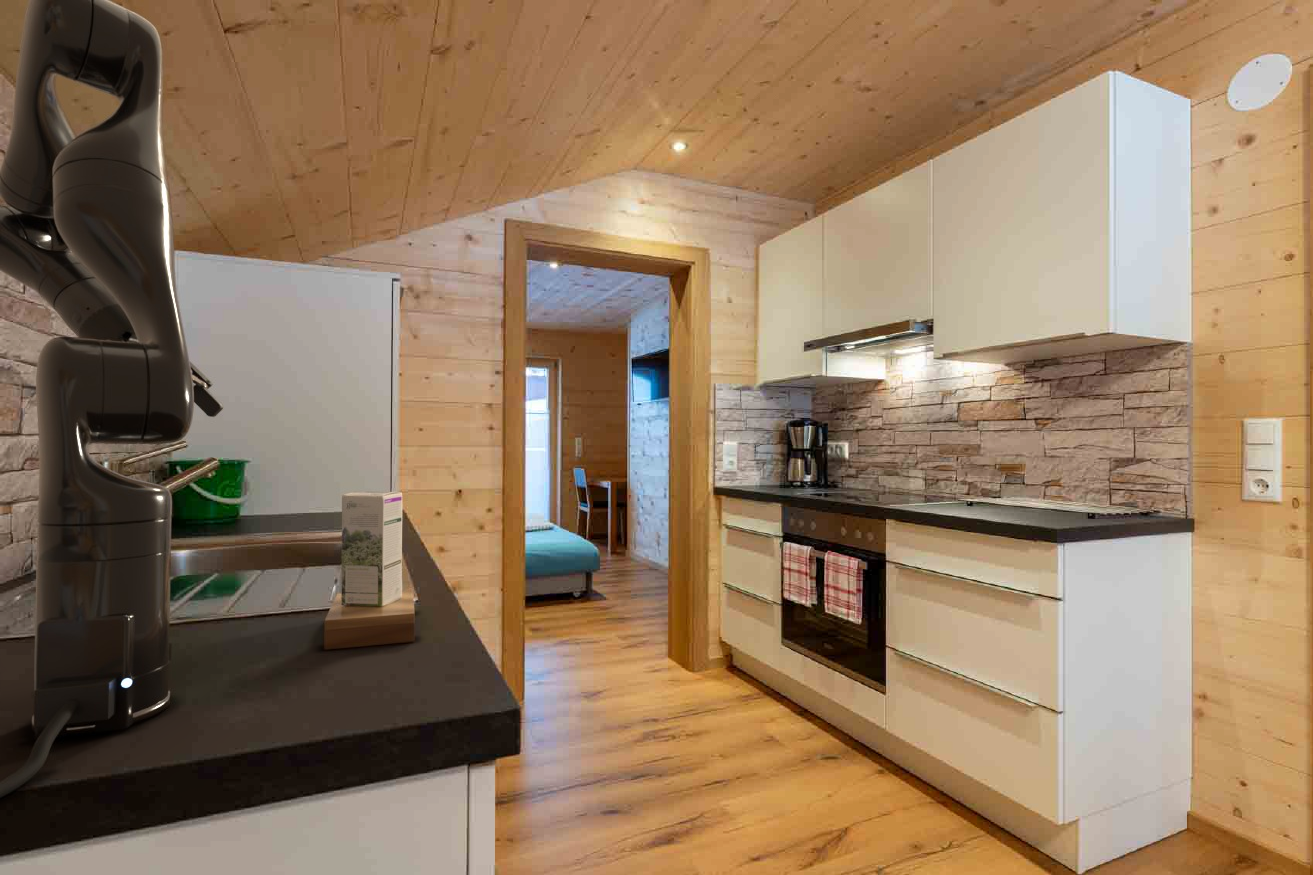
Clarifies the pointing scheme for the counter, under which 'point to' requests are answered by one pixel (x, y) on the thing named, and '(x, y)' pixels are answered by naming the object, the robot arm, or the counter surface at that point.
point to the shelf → (370, 623)
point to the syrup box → (371, 548)
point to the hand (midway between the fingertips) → (196, 410)
